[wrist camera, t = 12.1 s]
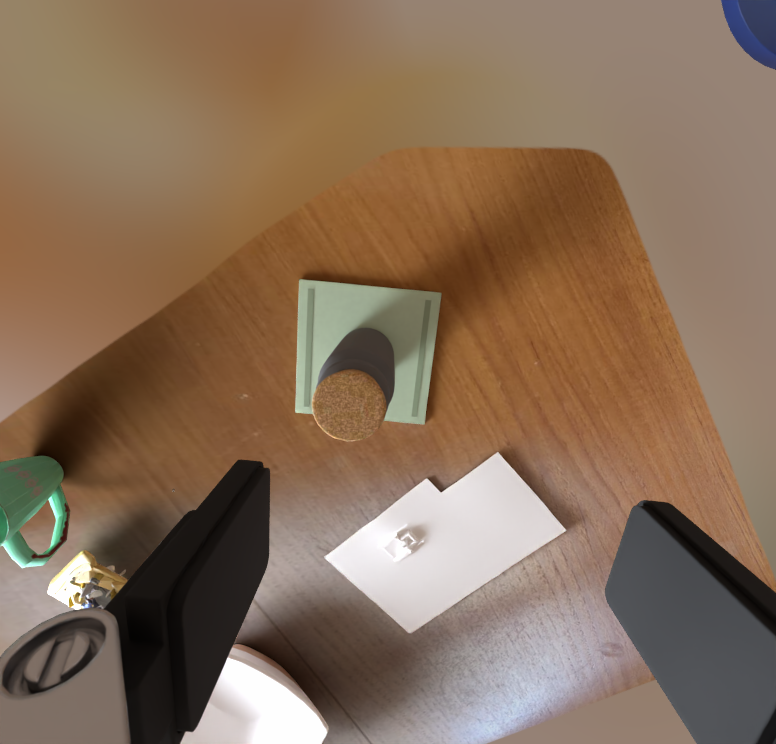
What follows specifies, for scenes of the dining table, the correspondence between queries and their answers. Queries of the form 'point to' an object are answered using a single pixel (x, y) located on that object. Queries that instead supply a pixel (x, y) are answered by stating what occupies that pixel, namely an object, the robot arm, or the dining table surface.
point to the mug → (31, 505)
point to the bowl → (257, 706)
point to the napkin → (377, 311)
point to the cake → (86, 583)
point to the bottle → (355, 386)
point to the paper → (445, 542)
